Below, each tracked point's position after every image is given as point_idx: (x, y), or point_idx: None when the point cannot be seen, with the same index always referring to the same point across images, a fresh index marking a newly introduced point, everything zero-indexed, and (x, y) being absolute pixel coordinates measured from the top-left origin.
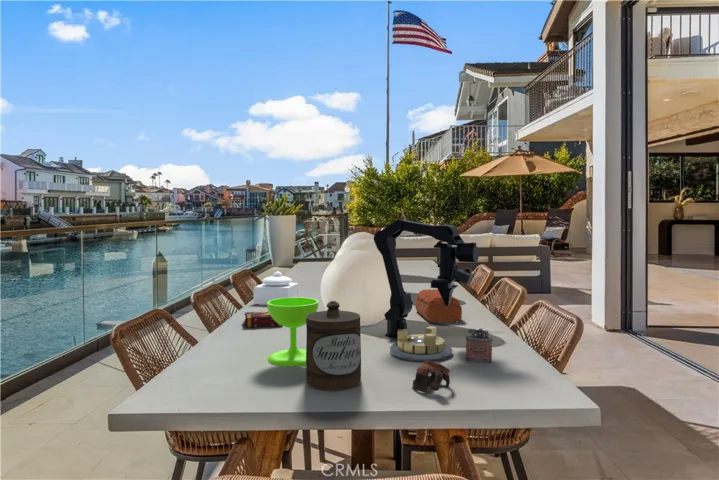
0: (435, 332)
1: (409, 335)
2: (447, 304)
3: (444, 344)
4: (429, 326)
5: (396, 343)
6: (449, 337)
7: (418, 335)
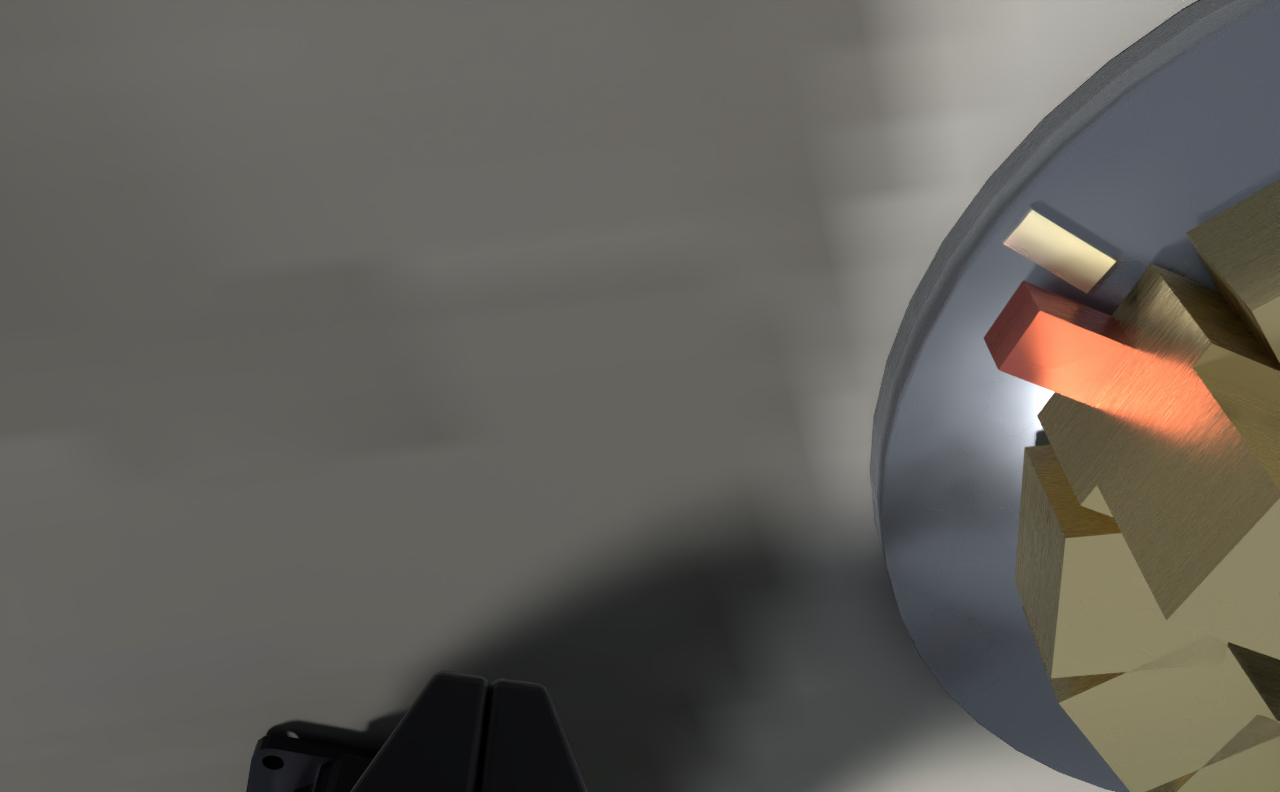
0: (1254, 430)
1: (1159, 758)
2: (556, 756)
3: (1129, 122)
4: (1194, 628)
5: (1108, 781)
6: (107, 98)
7: (1151, 648)
